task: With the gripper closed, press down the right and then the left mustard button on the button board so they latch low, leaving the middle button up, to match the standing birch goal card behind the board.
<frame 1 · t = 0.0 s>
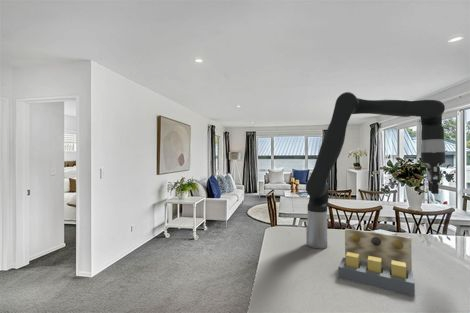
hand: (433, 192, 97), 29 cm above the kitchen island, fingers open, 8 cm apart
button right: (398, 270, 82), point 5 cm above the kitchen island, slide at 0.0 cm
button left: (352, 261, 89), point 5 cm above the kitchen island, slide at 0.0 cm
supplement box: (383, 263, 100), on the kitchen island
board: (374, 280, 86), on the kitchen island
button mid: (374, 266, 86), point 5 cm above the kitchen island, slide at 0.0 cm
goal card: (376, 269, 94), on the kitchen island
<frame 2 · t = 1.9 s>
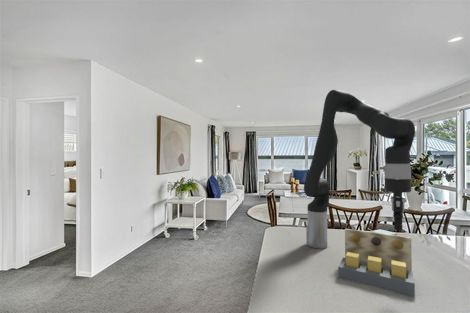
hand: (398, 228, 82), 19 cm above the kitchen island, fingers open, 3 cm apart
nothing on the kitchen island moved.
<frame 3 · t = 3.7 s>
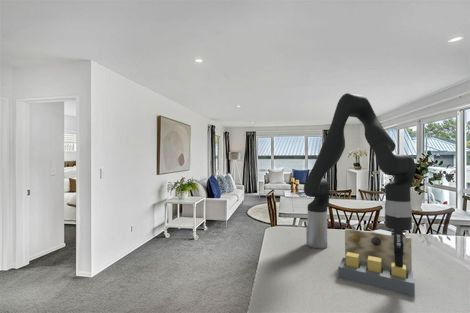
hand: (398, 265, 82), 7 cm above the kitchen island, fingers closed
button right: (398, 273, 82), point 4 cm above the kitchen island, slide at 0.8 cm, touching gripper
everything else where it was.
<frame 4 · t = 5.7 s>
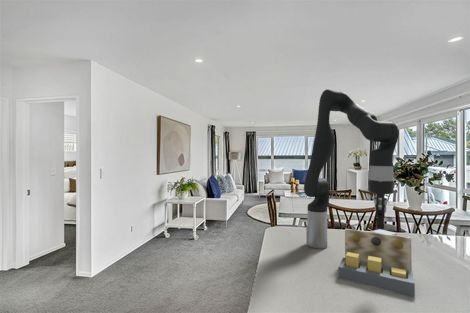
hand: (380, 228, 85), 18 cm above the kitchen island, fingers closed
button right: (398, 278, 82), point 3 cm above the kitchen island, slide at 2.4 cm
everything else where it was.
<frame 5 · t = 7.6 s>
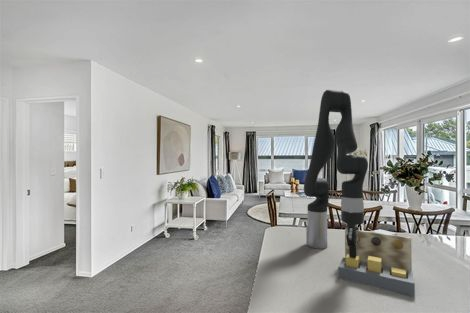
hand: (352, 257, 89), 7 cm above the kitchen island, fingers closed
button left: (352, 263, 89), point 4 cm above the kitchen island, slide at 0.8 cm, touching gripper
everything else where it was.
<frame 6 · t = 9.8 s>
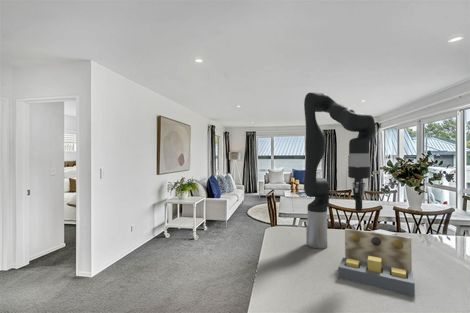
hand: (358, 210, 94), 23 cm above the kitchen island, fingers closed
button left: (352, 268, 89), point 3 cm above the kitchen island, slide at 2.4 cm
everything else where it was.
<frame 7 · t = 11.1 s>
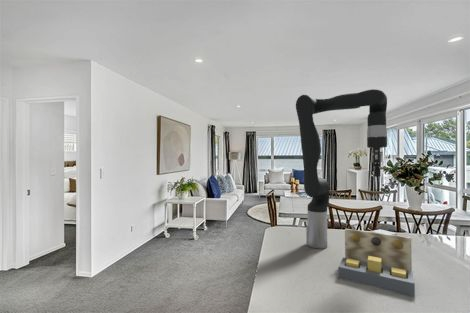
hand: (377, 176, 105), 35 cm above the kitchen island, fingers closed
nothing on the kitchen island moved.
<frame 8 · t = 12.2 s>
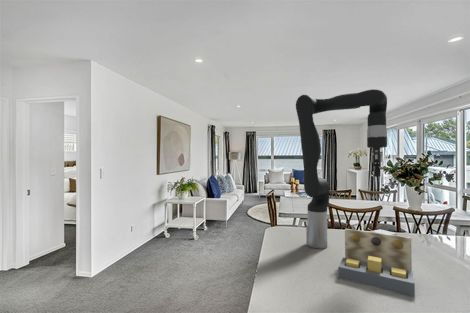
hand: (377, 176, 105), 35 cm above the kitchen island, fingers closed
nothing on the kitchen island moved.
at the end: button right slide at 2.4 cm; button left slide at 2.4 cm; button mid slide at 0.0 cm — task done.
